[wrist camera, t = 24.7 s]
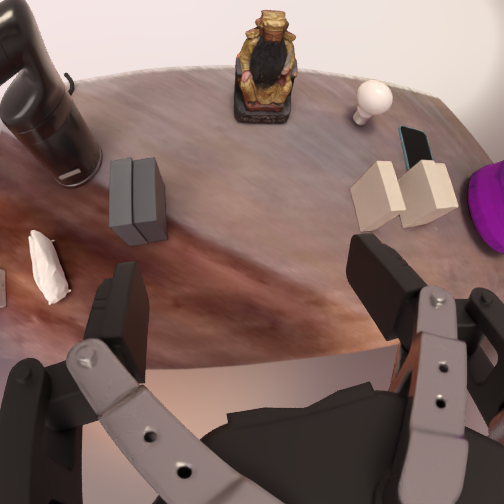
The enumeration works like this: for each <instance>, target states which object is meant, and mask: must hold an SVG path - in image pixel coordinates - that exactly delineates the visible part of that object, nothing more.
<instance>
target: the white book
mask: <svg viewBox="0 0 504 504" xmlns="http://www.w3.org/2000/svg"><path fill="white" fill-rule="evenodd" d="M350 190H351V194H352V198H353V202H354V206H355V210H356V214H357V219H358V223H359V227H360V231H361V232H363V231H372V230H375V229H377V228H378V227H380V226H381V225H383V224H385V223H386V222H388V221H389V220H391V219H393V218H394V217H396V216H397V215H399V214H400V213H402V212H404V211H405V210H406V208H405V205H404V201H403V198H402V194H401V191H400V187H399V184H398V181H397V178H396V174H395V171H394V168H393V165H392V162H391V161H376V162H375V163H374V164H373V165H372V166H371V168H370V169H369V170H368V171H367V172H366V173H365V174H364V175H363V176H362V177H361V178H360V179H359V180H358V181H357V182H356V183H355V184H354V185H353V186H352V187H351V188H350Z"/></svg>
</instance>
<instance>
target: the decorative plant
mask: <svg viewBox="0 0 504 504" xmlns="http://www.w3.org/2000/svg"><path fill="white" fill-rule="evenodd" d="M468 204H469V209H470V215H471V217H472V220H473V222H474V225H475V228H476V229H477V231H478V233H479V234H480V236H481V237H482V239H483V240H484V241H485V242H486V243H487V244H488V245H489V246H490V247H491V248H493V249H494V250H495V251H497V252H500V253H502V254H504V160H503V161H501V162H498V163H495V164H490V165H486V166H484V167H482V168H481V169H479V170H477V171H476V172H475V173H473V175H472V177H471V180H470V182H469V189H468Z"/></svg>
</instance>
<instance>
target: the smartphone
mask: <svg viewBox="0 0 504 504" xmlns="http://www.w3.org/2000/svg"><path fill="white" fill-rule="evenodd" d="M399 134H400V139H401V143H402V148H403V152H404V157H405V162H406V168H407V172H408V171H409V170H410V169H411V168H412V167H413V166H415V165H416V164H417V163H418V162H419V161H421V160H432V161H433V158H432V154H431V150H430V146H429V143H428V139H427V136H426V134H425V133H424V132H423V131H420V130H416V129H413V128H410V127H406V126H400V127H399Z"/></svg>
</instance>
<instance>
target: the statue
mask: <svg viewBox="0 0 504 504" xmlns="http://www.w3.org/2000/svg"><path fill="white" fill-rule="evenodd" d="M261 12H262V16H261V17H260V18H259V19H257V20H256V21H255V23H256V25H257V27H256V28H254V29H251V30H249V31H246V36H247V39H246V41H245V42H244V44H243V47H242V49H241V51H240V53H239V54H238V55H237V58H236V65H235V68H236V72H235V90H234V114H235V118H236V119H237V120H238V121H240V122H248V123H267V124H268V123H284V122H286V121H287V119H288V117H289V114H290V111H291V91H292V87H293V83H294V78H295V77H297V61H296V59H295V53H294V45H293V43H292V41H293V40H295V38H296V36H295V35H294V34H292V33H290V32H288V31H287V28H288V26H289V23H288V21H287V20H286V18H285V12H283V11H271V10H263V11H261ZM292 116H293V115H292Z"/></svg>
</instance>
